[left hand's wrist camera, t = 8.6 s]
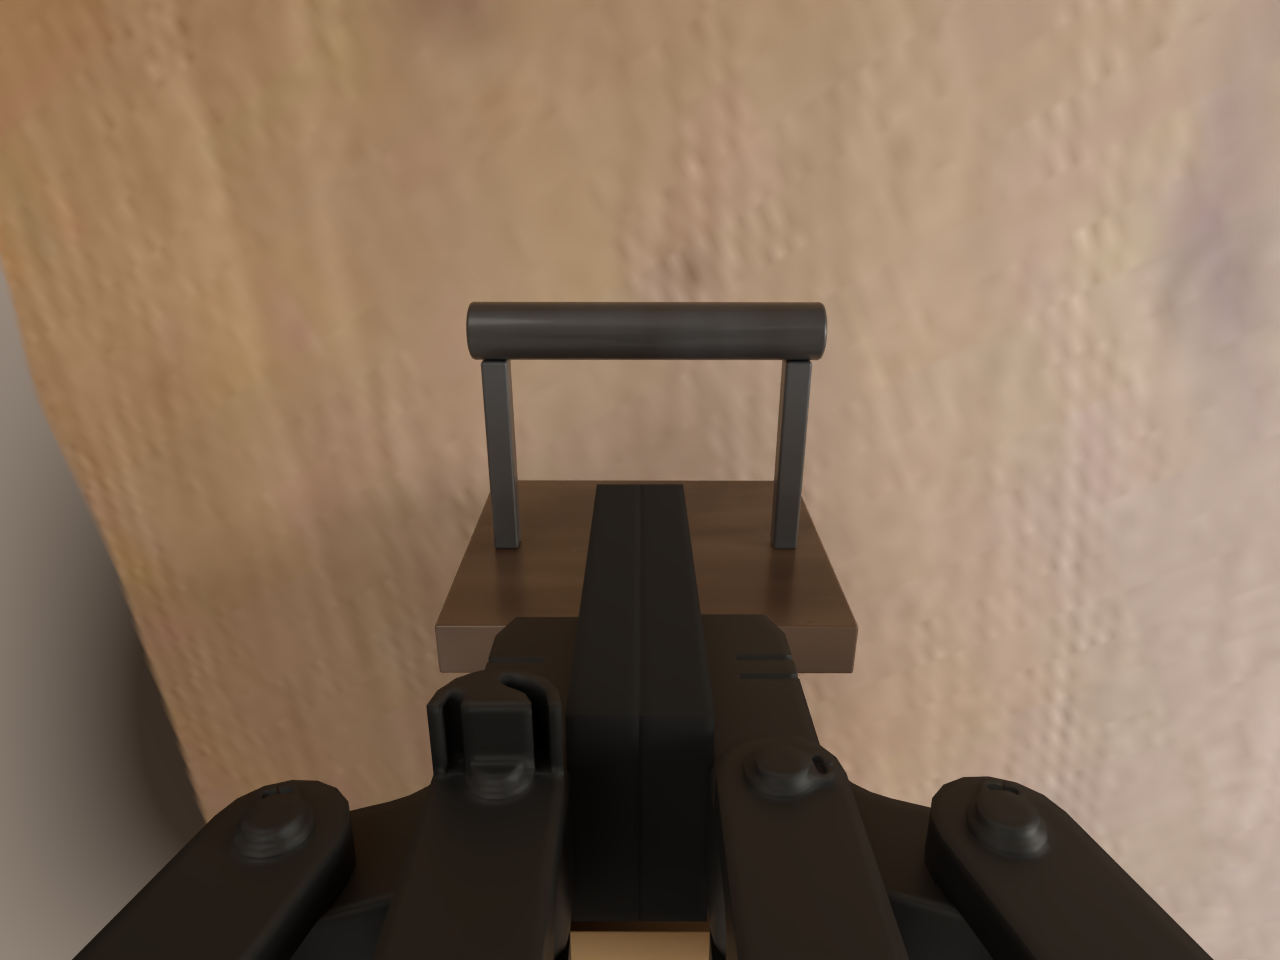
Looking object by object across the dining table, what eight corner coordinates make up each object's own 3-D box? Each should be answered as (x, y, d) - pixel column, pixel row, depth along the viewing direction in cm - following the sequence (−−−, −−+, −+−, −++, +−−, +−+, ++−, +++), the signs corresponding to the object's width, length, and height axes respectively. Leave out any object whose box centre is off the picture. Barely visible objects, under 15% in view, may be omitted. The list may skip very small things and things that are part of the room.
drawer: (479, 272, 22) (402, 342, 15) (812, 272, 22) (894, 343, 15) (522, 873, 31) (486, 1102, 24) (763, 874, 31) (801, 1102, 24)
